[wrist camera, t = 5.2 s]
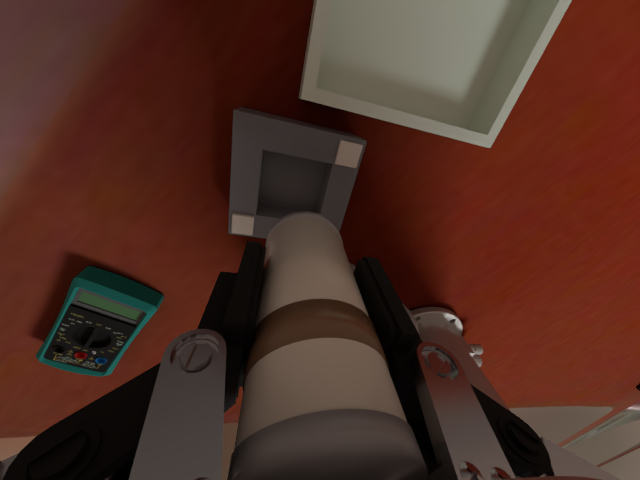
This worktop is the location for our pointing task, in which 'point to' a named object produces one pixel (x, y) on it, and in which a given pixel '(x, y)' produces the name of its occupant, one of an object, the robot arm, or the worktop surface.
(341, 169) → the fuse holder
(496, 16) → the parts tray
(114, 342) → the digital multimeter
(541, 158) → the worktop surface
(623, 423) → the worktop surface
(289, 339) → the cylinder
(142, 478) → the robot arm
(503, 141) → the worktop surface
